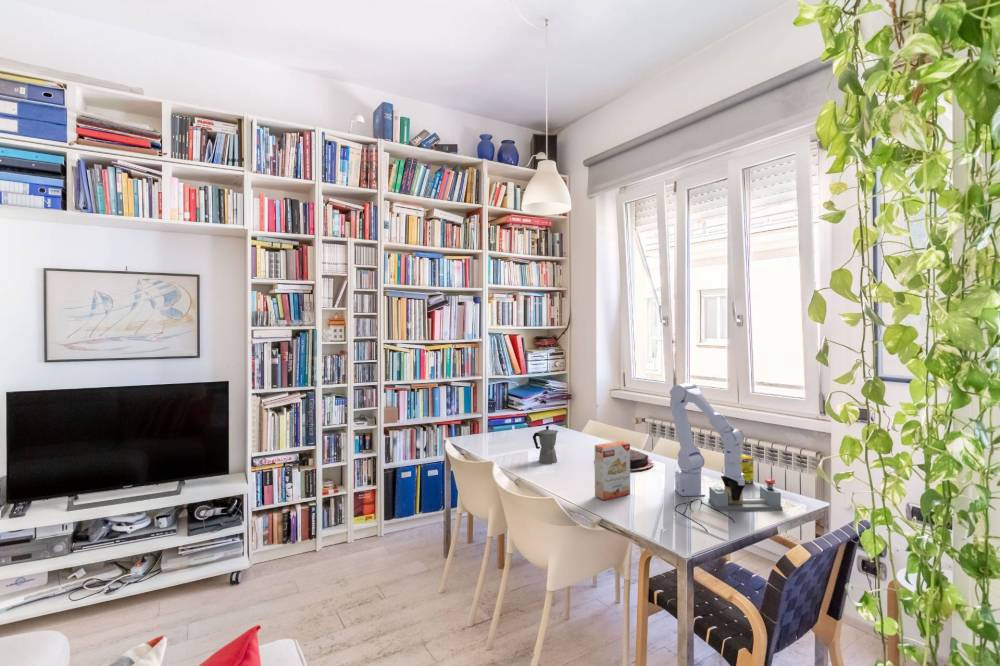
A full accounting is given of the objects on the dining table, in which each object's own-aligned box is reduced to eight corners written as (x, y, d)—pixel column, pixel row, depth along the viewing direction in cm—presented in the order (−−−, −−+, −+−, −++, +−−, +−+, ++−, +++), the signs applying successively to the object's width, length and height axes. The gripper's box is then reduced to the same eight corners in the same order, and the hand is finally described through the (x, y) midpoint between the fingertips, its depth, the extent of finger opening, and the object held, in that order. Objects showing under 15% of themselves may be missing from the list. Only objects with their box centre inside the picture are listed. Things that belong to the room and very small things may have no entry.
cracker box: (604, 501, 188) (603, 448, 188) (594, 496, 194) (593, 444, 193) (631, 494, 195) (630, 443, 194) (621, 490, 200) (620, 439, 200)
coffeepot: (552, 457, 250) (552, 422, 249) (564, 461, 242) (563, 425, 241) (528, 462, 242) (527, 426, 242) (539, 467, 234) (538, 430, 233)
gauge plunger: (768, 492, 179) (767, 481, 179) (763, 489, 182) (763, 478, 182) (776, 491, 179) (776, 481, 179) (772, 488, 182) (772, 478, 182)
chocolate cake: (616, 452, 257) (615, 440, 256) (664, 463, 236) (664, 450, 236) (583, 464, 238) (583, 451, 237) (633, 477, 217) (632, 462, 217)
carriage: (729, 503, 179) (729, 490, 179) (724, 499, 183) (724, 486, 183) (742, 503, 179) (742, 490, 179) (737, 499, 183) (737, 486, 183)
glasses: (700, 510, 179) (701, 497, 178) (736, 529, 166) (738, 516, 165) (673, 518, 172) (674, 505, 171) (708, 539, 159) (710, 525, 158)
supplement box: (742, 485, 203) (742, 459, 202) (731, 480, 209) (731, 455, 208) (754, 483, 204) (753, 457, 204) (743, 479, 210) (743, 454, 210)
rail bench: (718, 510, 177) (718, 493, 177) (708, 501, 186) (708, 484, 186) (782, 510, 176) (782, 492, 176) (769, 500, 185) (769, 484, 185)
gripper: (753, 467, 173) (753, 505, 174) (734, 456, 188) (735, 491, 188) (733, 468, 173) (733, 505, 174) (716, 456, 188) (716, 491, 188)
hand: (733, 498), depth 181 cm, fingers closed on carriage, 4 cm apart
